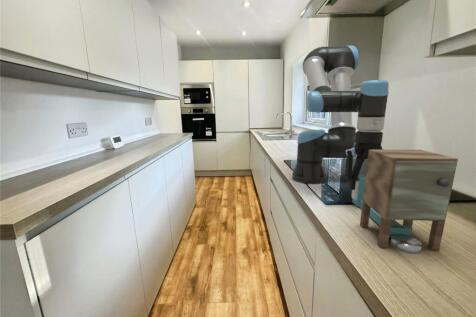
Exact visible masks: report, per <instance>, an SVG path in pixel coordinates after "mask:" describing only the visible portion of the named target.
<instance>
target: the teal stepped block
mask: <svg viewBox="0 0 476 317" xmlns="http://www.w3.org/2000/svg"><path fill="white" fill-rule="evenodd" d="M365 178H366V174H359V175H358V178H357V181H358V182H359V186H358V195H357V200H354V199H353V198H352V197H351V199H352V200H351V202H352V203H353V204H354V205H355V207H357V208H360V210H362V203H363V195H364V186H365ZM369 218H371V219H372V220H373V221H374V222H375V223H376V224H377V225H378V226H380V222H381V216H380V215H379V214H378V213H377V212H376V211H374V210H373V209H372V208H370V216H369ZM412 233H413V227H412V228H411V227H409V226H403V224H401V223H400V222H398V221H397V220H391V227H390V234H389V238H391V236H392V235H394V234H403V235H407V236H410V237H412Z"/></svg>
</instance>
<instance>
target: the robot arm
mask: <svg viewBox="0 0 476 317" xmlns="http://www.w3.org/2000/svg"><path fill="white" fill-rule="evenodd" d="M359 60H360V56H359V50H358V48H357V47H356V46H354V45H347V44H345V45H333V46H330V45H329V46H319V47H316V48H314V49H313V50H311V51H310V52H308V54H306V55H305V57H304V59H303V62H302V71H303V73H304V74H305V75H306V78H307V84H308V88H309V91H310V92H308V93H307V97H306V110H307V112H309V113H316V114H319V113H320V114H321V113H330V116H331V117H330V124H331V126H330V127H329V128H328V129H327V132H326V130H325V129H321V128H320V129H311V130H305V131H301V132H299V133H298V136H297V150H296V152H297V153H296V154H297V155H296V164H295V166H294V169H293V171H292V176H291V177H292V180H293V181H296V182H298V183H302V184H308V185H309V184H313V185H316V184H315V183H317V184H322V183H321V182H323V183H325V182H326V177H327V175H326V173H325V168H324V165H323V164H324V163H323V162H324V159H343V160H345V167H344V169H345V171H344V177H345V178H346V179H348V180H349V181H350V182H349V189H350V190H351V199H352V198H353V199H354V200H357V195H358V186H359V182H358V181H357V178H358V175H360V171H361V169H362V166H363V163H364V162H365V160H368V152H369V150H385V149H384V148H383V146H382V143H383V137H384V136H383V135H384V133H383V130H384V129H385V128H384V126H385V117H386V113H387V112H386V111H387V110H386V109H387V106H388V105H387V103H388V96H389V94H390V93H389V81H388V80H385V79H374V80H373V79H372V80H365V81H363V82H362V83H361V84H360V89H359V90H352V87H351V86H352V82H351V81H352V80H351V77H352V76H353V75H354V73H355V72H356V70H357V69H358V67H359ZM328 79H329V80H330V83H329V80H328ZM352 113H357V120H356V127H355V126H354V125H353V122H352V120H353V119H352ZM356 130H357V131H356ZM354 159H355V162H354ZM353 163H354V165H353ZM324 181H325V182H324Z"/></svg>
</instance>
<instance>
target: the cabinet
mask: <svg viewBox="0 0 476 317" xmlns="http://www.w3.org/2000/svg"><path fill="white" fill-rule="evenodd" d="M458 159H459V158H456V157H452V156H448V155H444V154H439V153H436V152H430V151H428V150H427V151H426V150H423V149H384V150H369V152H368V159H367V162H366V170H365V171H366V172H365V175H366V178H365V186H364V195H363V203H362V209H361V213H360V222H359V225H360V227H361V228H362V229H363V228H365V229H368V228H369V221H370V208H372V209H373V210H374V211H376V212H377V213H378V214H379V215H380V216H381V222H380V225H379V230H378V236H377V246H378V247H379V248H380V249H388V246H389V239H390V237H389V234H390V227H391V220H396V221H397V220H398V221H402V226H409V227H411V228H412V229H413V224H414V221H427V222H431V226H430V227H431V228H430V232H429V235H428V242H427V246H426V247H427V248H429V249H430V250H431V251H437V252H438V251H440V248H441V243H442V238H443V234H444V229H445V224H446V218H447V213H448V210H449V205H450V199H451V194H452V189H453V185H454V180H455V176H456V171H457V165H458V161H459V160H458Z"/></svg>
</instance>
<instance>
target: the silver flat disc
mask: <svg viewBox="0 0 476 317" xmlns="http://www.w3.org/2000/svg"><path fill="white" fill-rule="evenodd" d="M389 243H390V244H391V246H392V247H393V248H395V249H396V250H398V251H400V252H403V253H407V254H411V255H417V254H421V253H422V249H423V243H422V242H421V241H420V240H418V239H417V238H414V237H413V236H411V237H410V236H407V235H403V234H394V235H392V236H391V237H390V242H389Z"/></svg>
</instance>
